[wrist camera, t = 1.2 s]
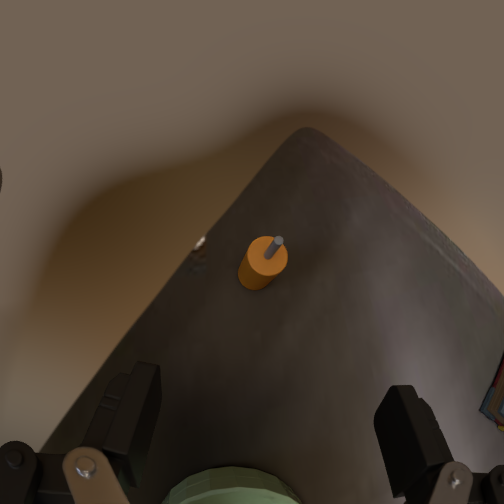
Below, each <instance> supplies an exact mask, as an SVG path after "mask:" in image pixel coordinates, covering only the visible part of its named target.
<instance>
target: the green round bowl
mask: <svg viewBox="0 0 504 504" xmlns="http://www.w3.org/2000/svg"><path fill="white" fill-rule="evenodd" d="M162 504H302V503H301V501H300V500H299V499H298V497H297V496H296V494H295V493H294V492H293V490H292V489H291V488H290V487H289V486H287V485H286V484H285V483H284V482H282V481H281V480H280V479H279V478H277V477H276V476H273V475H270V474H268V473H265V472H263V471H260V470H258V469H251V468H242V467H234V466H230V467H222V468H213V469H208V470H205V471H202V472H200V473H197V474H194V475H192V476H189V477H187V478H186V479H184V480H183V481H182V482H180V483H179V484H178V485H176V486H175V487H174V488H172V489H171V490H170V492H169V494H168V495H167V497H166V498H165V500H164V501H163V503H162Z"/></svg>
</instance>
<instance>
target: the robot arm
mask: <svg viewBox="0 0 504 504" xmlns="http://www.w3.org/2000/svg"><path fill="white" fill-rule="evenodd" d="M161 400H162V391H161V376H160V366H159V365H156V364H151V363H146V362H141V361H137V362H136V363H135V365H134V368H133V370H132V372H131V375H128V374H124V373H119V374H118V375H117V376H116V377H115V378H113V379H112V380H111V381H110V382H109V384H108V386H107V388H106V390H105V393H104V396H103V397H102V399H101V401H100V403H99V406H98V408H97V410H96V412H95V414H94V417H93V419H92V421H91V423H90V426H89V428H88V430H87V433H86V435H85V437H84V440H83V441H82V443H81V444H80V446H79V447H78V448H75V449H73V450H71V451H70V452H69V453H67V454H44V453H35V452H34V451H33V449H32V448H31V447H30V446H29V445H27V444H25V443H24V442H20V441H10V442H8V443H5V444H4V445H3V446H1V448H0V504H130V503H129V501H128V499H127V494H128V490H129V486H131V487H135V488H139V485H140V481H141V478H142V474H143V470H144V466H145V462H146V459H147V455H148V451H149V447H150V444H151V440H152V437H153V433H154V429H155V426H156V422H157V419H158V415H159V412H160V407H161ZM435 419H436V418H435V415H434V413H433V411H432V409H431V407H430V406H429V405H428V404H427V403H426V402H425V401H424V400H423V399H422V398H418V395H417V393H416V391H415V389H414V387H413V386H412V385H393V386H391V387H390V388H389V390H388V392H387V393H386V395H385V397H384V399H383V400H382V402H381V404H380V405H379V407H378V409H377V411H376V413H375V416H374V428H375V432H376V435H377V439H378V442H379V446H380V449H381V453H382V456H383V460H384V463H385V467H386V471H387V475H388V478H389V482H390V486H391V490H392V494H393V498H398V497H403V496H405V498H406V501H405V502H404V504H504V465H498V466H496V467H494V468H493V469H492V470H491V471H490V472H489V473H472V472H471V471H470V469H469V468H468V467H467V466H466V465H464V464H463V463H460V462H456V461H454V459H453V457H452V454H451V452H450V450H449V447H448V445H447V443H446V440H445V438H444V436H443V433H442V431H441V429H439V424H438V422H437V420H435Z"/></svg>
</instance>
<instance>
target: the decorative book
mask: <svg viewBox="0 0 504 504" xmlns="http://www.w3.org/2000/svg"><path fill="white" fill-rule="evenodd" d="M480 410H481V411H482V412H483V413H484V414H485V415H486V416H487V417H489V418H490V419H491V420H494V421H495V422H496V423H497V424H498V425H499V426H498V428H499V429H500V430H501V431H504V358H503V361H502V364H501V366H500V369H499V372H498V374H497V377H496V379H495V382H494V384H493V386H492V387H491V388H490V390H489V392H488V395H487V397H486V399H485V401H484V403H483V405H482V407H481V409H480Z"/></svg>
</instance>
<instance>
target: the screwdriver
mask: <svg viewBox="0 0 504 504" xmlns="http://www.w3.org/2000/svg"><path fill="white" fill-rule="evenodd" d="M283 242H284V240H283V238H282V237H281V236H276V237H275V238H273V237H269V236H263V237H259V238H257V239H255V240H254V241H253V242H252V243H251V244H250V246H249V248H248V250H247V252H246V254H245V256H244V258H243V260H242V262H241V265H240V267H239V269H238V278H239V280H240V282H241V284H242V285H243V286H244V287H246V288H248V289H250V290H260V289H262V288H264V287H265V286H266V285H267V284H269V283H270V282H271V281H272V280H273V279H274V278H275V277H276V276H277V275H278V274H279V273H280V272H281V271H282V270H283V269H284V268H285V266H286V264H287V260H288V254H287V250H286V248H285V246H284V245H283Z"/></svg>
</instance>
